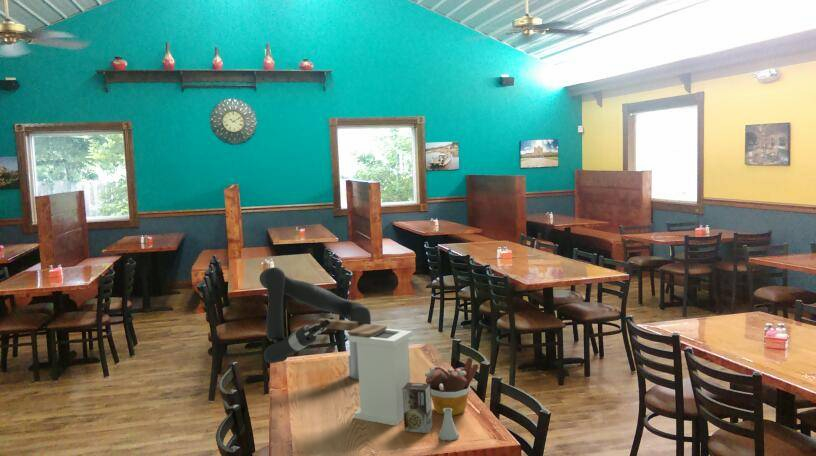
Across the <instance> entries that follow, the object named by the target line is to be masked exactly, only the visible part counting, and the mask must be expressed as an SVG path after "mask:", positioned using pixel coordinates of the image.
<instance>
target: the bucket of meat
mask: <svg viewBox="0 0 816 456" xmlns="http://www.w3.org/2000/svg"><path fill="white" fill-rule="evenodd" d="M473 361H474V360H473V358H472V357H471V356H470V357H468V358H467V360H466V361H465V363H464V367H463V366H461V367H457V368H454V369H452V368H449V369H448V370H447V369H445V368H444V367H442V366H438V365H435V366H433V365H432V366H430V367H429V371H426V372H425V373H424V376H425V384H430V387H431V403H432V404H433V408H434V411H436V412H437V413H438V415H442V416H444V412H443V409H445V408H451V409H452V417H454V416H458V415H462V414H463V413H464V411H465V409H466V407H467V403H468V398H469V392H470V387H471V382H472V381H473V380H474V378H475V377H474V376H475V375H476V373H477V371H478V368H479V365H478V364H477V363H474V364H473Z"/></svg>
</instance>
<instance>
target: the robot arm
mask: <svg viewBox="0 0 816 456" xmlns="http://www.w3.org/2000/svg"><path fill="white" fill-rule="evenodd" d="M259 282H260V284H261V286H262V287H264V288H265V289H267V293H268V294H267V297H268V307H267V310H266V311H267V313H266V322H265V323H266V337H267V339H268V340H270V341H273V344H271V345H269V346H267V347H266V349H265V350H264V352H263V359H264V361H265V362H266V363H269V364H275V363H276V364H277V363H282V362H285V361H286V360H287V359H288V358H289V356H290V355H294V354H295V353H296V352H298V351H301V350H302V349H304V348H307V347H308V346H309V345H312V344H313V343H314V342H316V341H317V336H318V335H320V334H321V333H322V332H325V331H326V330H327V329H328V328H324V327H326V326H328V325H329V324H330V321H329V319H335V317H334V316H332V317H329V318H326V319H327V320H325V321H323V322H322V323H319V324H318V323H316V324H314V325H312V326H311V325H308V324H305V325H303V326H301V327H300V328H299V329H296V330H295V331H293V332H292V333H291V334H290V335H288V336H287V337H286V336H285V327H284V296H285V295H287V296H289V297H291V298H293V299H294V300H295V301H296V300H297V301H298V302H301V303H303V304H305V305H307V306H309V307H312V308H314V309H317V310H320V311H324V312H331V313H333V314H336V315H339V316H340V317H343V318H344V319H345V320H346V321H356V322H358V327H359V326H361V325H363V324H371V325H372V323H371V319H372V318H371V312H370V309H369V308H368V307H366V306H365V304H364V305H363V304H362V303H360V302H355V301H353V300H349V299H345V298H342V297H340V296H338V295H336V294H335V293H333V292H332V291H330V290H328V289H326V288H323V287H321V286H319V285H316V284H314V283H310V282H306V281H303V280H297V279H294V278H291V277H289V276H288V275H286V274H285V271H283V269H282V268H280V267H275V266H274V267H268V268H265V269H264V270H263V271H262V272H261V273H260V275H259ZM348 342H349V356H348V358H347V359H348V376H349V377H350V378H351V379H353V380H359V371H358V352H357V342H351V341H348ZM349 377H348V378H349Z"/></svg>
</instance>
